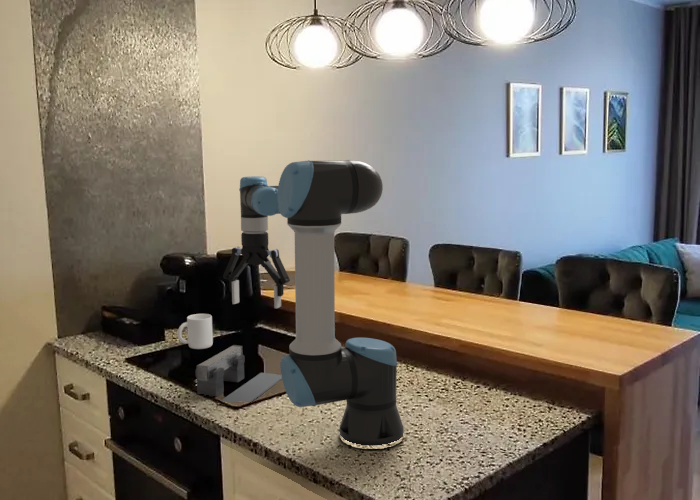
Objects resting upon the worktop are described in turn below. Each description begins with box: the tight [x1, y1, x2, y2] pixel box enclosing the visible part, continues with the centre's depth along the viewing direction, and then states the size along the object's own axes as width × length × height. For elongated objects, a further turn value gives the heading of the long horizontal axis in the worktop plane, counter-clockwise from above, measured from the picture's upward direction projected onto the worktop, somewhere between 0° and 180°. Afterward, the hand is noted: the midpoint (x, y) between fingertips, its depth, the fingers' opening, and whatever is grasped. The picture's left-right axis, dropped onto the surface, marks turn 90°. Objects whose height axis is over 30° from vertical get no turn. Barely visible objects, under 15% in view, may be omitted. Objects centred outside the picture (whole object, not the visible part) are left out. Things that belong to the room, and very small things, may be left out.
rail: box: [196, 344, 244, 381], centre depth 195 cm, size 20×3×4 cm, turn 160°
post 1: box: [194, 368, 225, 398], centre depth 190 cm, size 4×7×7 cm, turn 71°
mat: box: [220, 372, 283, 402], centre depth 193 cm, size 26×8×1 cm, turn 160°
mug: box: [177, 313, 214, 350], centre depth 234 cm, size 12×8×10 cm
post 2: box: [223, 354, 246, 384], centre depth 202 cm, size 4×7×7 cm, turn 70°
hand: (256, 305), depth 197 cm, fingers open, 13 cm apart
